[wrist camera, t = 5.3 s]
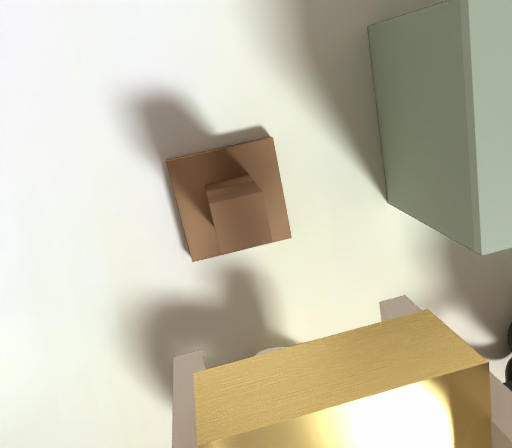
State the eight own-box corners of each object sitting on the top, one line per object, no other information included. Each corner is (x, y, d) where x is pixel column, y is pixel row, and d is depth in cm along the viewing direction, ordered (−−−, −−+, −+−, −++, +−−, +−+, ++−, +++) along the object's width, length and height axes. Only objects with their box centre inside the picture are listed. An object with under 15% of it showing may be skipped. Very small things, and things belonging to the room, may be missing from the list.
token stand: (192, 257, 32) (194, 294, 27) (166, 159, 30) (163, 177, 25) (289, 234, 33) (311, 264, 27) (270, 136, 31) (291, 147, 25)
